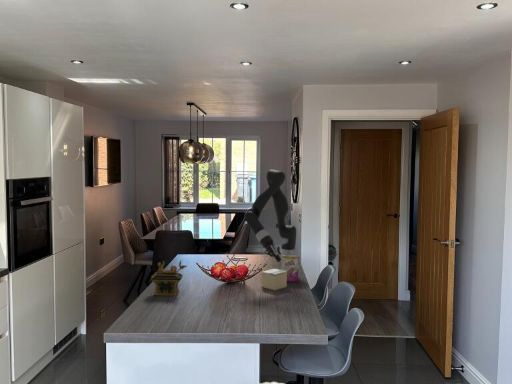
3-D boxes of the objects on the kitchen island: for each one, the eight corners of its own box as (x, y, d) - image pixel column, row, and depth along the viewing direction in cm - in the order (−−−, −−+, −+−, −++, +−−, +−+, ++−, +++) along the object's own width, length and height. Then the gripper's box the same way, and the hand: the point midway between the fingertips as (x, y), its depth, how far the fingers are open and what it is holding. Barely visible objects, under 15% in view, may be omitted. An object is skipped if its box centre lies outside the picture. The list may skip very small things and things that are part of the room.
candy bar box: (280, 281, 302) (281, 256, 301) (281, 279, 307) (281, 254, 306) (298, 282, 301) (298, 256, 300) (298, 280, 306) (299, 255, 305)
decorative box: (150, 295, 263) (150, 260, 262) (153, 291, 273) (154, 257, 272) (186, 296, 263) (186, 261, 262) (188, 291, 273) (188, 258, 272)
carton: (273, 284, 295) (274, 269, 295) (286, 286, 289) (286, 272, 288) (261, 287, 286) (261, 272, 285) (274, 290, 279) (274, 275, 279)
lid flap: (274, 269, 294) (274, 268, 294) (286, 271, 288) (286, 270, 288) (261, 272, 285) (262, 271, 285) (274, 275, 279) (274, 274, 279)
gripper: (260, 236, 284) (276, 259, 277) (274, 233, 294) (290, 255, 287) (254, 243, 288) (269, 266, 281) (267, 240, 298) (283, 263, 291)
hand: (279, 261), depth 284 cm, fingers closed
